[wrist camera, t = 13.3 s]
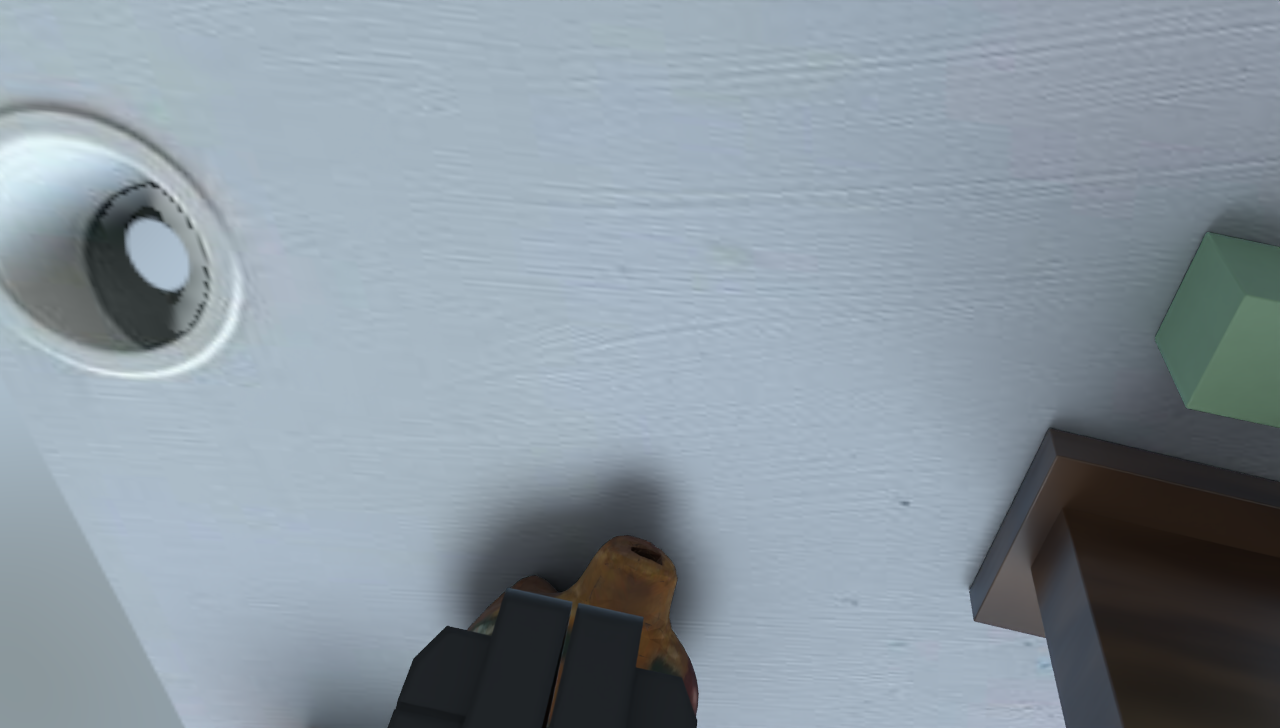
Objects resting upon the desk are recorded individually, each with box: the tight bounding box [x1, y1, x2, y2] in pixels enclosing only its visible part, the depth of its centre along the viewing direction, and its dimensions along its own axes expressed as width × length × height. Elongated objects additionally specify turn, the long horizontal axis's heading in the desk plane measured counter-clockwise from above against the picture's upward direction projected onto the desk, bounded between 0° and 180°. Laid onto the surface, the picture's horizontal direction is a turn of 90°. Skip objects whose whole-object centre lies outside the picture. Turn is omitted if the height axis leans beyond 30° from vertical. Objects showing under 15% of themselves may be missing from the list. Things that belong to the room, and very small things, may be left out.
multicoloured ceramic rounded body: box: [467, 535, 699, 728], centre depth 46 cm, size 10×15×8 cm, turn 162°
